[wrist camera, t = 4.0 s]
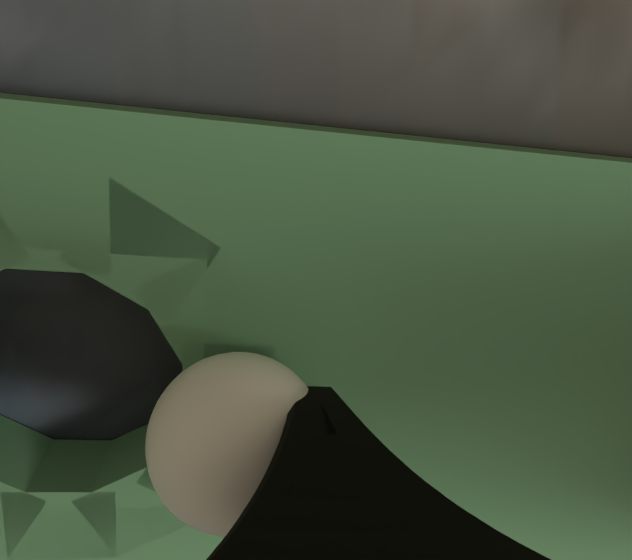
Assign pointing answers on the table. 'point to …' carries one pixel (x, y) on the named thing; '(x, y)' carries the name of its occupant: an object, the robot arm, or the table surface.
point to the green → (338, 309)
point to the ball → (218, 436)
